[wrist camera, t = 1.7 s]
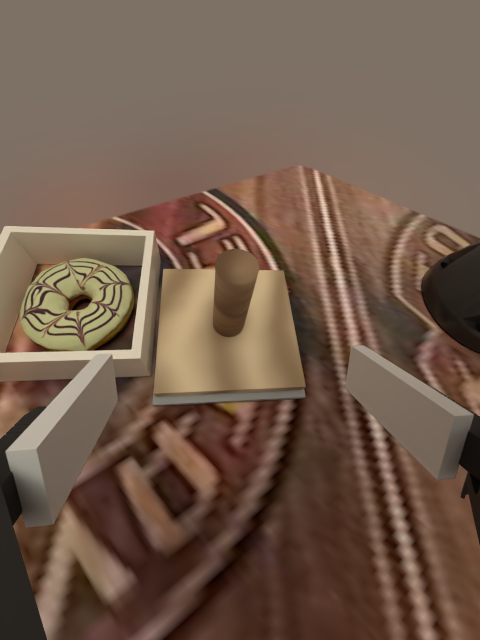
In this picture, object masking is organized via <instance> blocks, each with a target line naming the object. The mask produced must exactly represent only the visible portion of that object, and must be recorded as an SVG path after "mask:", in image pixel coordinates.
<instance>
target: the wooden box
mask: <svg viewBox="0 0 480 640" xmlns="http://www.w3.org/2000/svg"><path fill="white" fill-rule="evenodd" d="M79 258H88V259H94V260H98V261H101V262H104V263H107V264H110V265H130V266H142V272H141V280H140V287H139V295H138V303H137V311H136V319H135V327H134V335H133V342H132V350H103V351H63V352H23V353H5V351H6V348H7V346H8V343H9V340H10V338H11V335H12V332H13V329H14V327H15V324H16V321H17V318H18V316H19V313H20V309H21V305H22V302H23V299H24V298H25V294H26V291H27V288H28V286H29V285H30V283H31V280H32V278H33V275H34V272H35V269H36V267H37V264H60V263H63V262H65V261H68V260H74V259H79ZM160 264H161V260H160V255H159V251H158V246H157V241H156V237H155V232H154V231H143V230H111V229H80V228H46V227H17V226H16V227H15V226H5V227H4V229H3V231H2V233H1V235H0V382H3V381H29V380H56V379H74V378H75V377H76V375H77V374H78V373H79V372H80V371H81V370H82V369H83V368H84V367H85V366H86V365H87V364H88V363H89V362H90V361H91V359H92V358H93V357H94V356H95V355H96V354H112V356H113V364H114V373H115V377H135V376H151V369H152V357H153V346H154V334H155V322H156V311H157V299H158V288H159V276H160Z"/></svg>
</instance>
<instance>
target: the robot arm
mask: <svg viewBox="0 0 480 640" xmlns="http://www.w3.org/2000/svg"><path fill="white" fill-rule="evenodd" d="M422 293H423V297H424V300H425V303H426V305H427V307H428V309H429V311H430V313H431V314H432V316H433V317H434V318H435V320H436V321H437V322H438V323H439V325H440V326H441V327H442V328H443V329H444V330H445V331H446V332H447V333H448V334H450V335H451V336H452V337H453V338H455V339H456V340H457V341H459V342H460V343H462V344H463V345H465V346H467V347H468V348H470V349H472V350H474V351H476V352H479V353H480V241H478V242H476V243H474V244H471V245H469V246H467V247H465V248H463V249H460V250H458V251H456V252H454V253H452V254H449V255H447V256H445V257H444V258H442V259H441V260H439V261H438V262H437V263H436V264H435V265H434V266H432V267H431V268H430V269H429V270H428V271H427V272H426V274H425V276H424V278H423V281H422ZM345 388H346V389H347V390H348V391H349V392H350V393H351V394H352V395H353V396H354V397H355V398H356V399H357V400H358V401H359V402H360V403H361V404H362V405H363V406H364V407H365V408H366V409H367V410H368V411H369V412H370V413H371V414H372V415H373V416H374V417H375V418H376V419H377V420H378V421H379V422H380V423H381V424H382V425H383V426H384V427H385V428H386V429H387V431H388V432H389V433H390V434H391V435H392V436H393V437H394V438H395V439H396V440H397V441H398V442H399V443H400V444H401V445H402V446H403V447H404V448H405V449H406V450H407V451H408V452H409V453H410V454H411V455H412V456H413V457H414V458H415V459H416V460H417V461H418V462H419V463H420V464H421V465H422V466H423V467H424V468H425V469H426V470H427V471H428V472H429V473H430V474H431V475H432V476H433V477H434V478H435V479H436V480H443V479H451V478H455V476H456V473H457V470H458V467H459V464H460V465H461V466H462V467H463V468H464V469H466V470H467V471H468V473H467V477H466V480H465V483H464V486H463V489H462V492H461V498H463V499H465V495H467V494H469V498H470V503H471V507H472V512H473V516H474V521H475V526H476V530H477V535H478V539H479V544H480V416H478V415H476V414H475V413H473V412H471V411H470V410H468V409H467V408H465V407H463V406H462V405H460V404H459V403H457V402H456V403H455V401H454V400H452V399H451V398H449V397H446V395H444V394H443V393H441V392H439V391H438V390H436V389H434V388H432V387H429V386H428V385H426V384H424V383H423V382H421V381H420V380H418V379H416V378H415V377H413V376H412V375H410V374H409V373H407V372H405V371H404V370H402V369H401V368H399V367H397V366H396V365H394V364H393V363H391V362H389V361H388V360H386V359H385V358H383V357H381V356H380V355H378V354H377V353H375V352H373V351H372V350H370V349H369V348H367V347H366V346H364V345H357V346H351V352H350V359H349V365H348V372H347V379H346V386H345ZM117 402H118V398H117V390H116V381H115V373H114V364H113V356H112V354H96V355H95V356H94V357H93V358H92V359H91V361H90V362H89V363H88V364H87V365H86V366H85V367H84V368H83V369H82V370H81V371H80V372H79V373H78V374H77V375H76V377H75V378H74V379H73V380H72V381H71V382H70V383H69V384H68V385H67V386H66V387H65V388H64V389H63V390H62V391H61V393H60V394H59V395H58V396H57V397H56V398H55V399H54V400H53V401H52V402H51V403H50V404H49V405H48V406H47V407H38V408H36V409H34V410H33V411H31V412H29V413H28V414H26V415H24V416H23V417H22V418H21V419H20V420H19V421H18V422H17V423H16V424H15V426H14V427H12V428H11V429H10V430H9V431H8V432H7V433H6V435H4V436H3V437H2V438H1V439H0V640H47V638H46V634H45V631H44V628H43V624H42V621H41V618H40V614H39V611H38V608H37V604H36V601H35V598H34V595H33V591H32V588H31V585H30V581H29V578H28V575H27V571H26V568H25V565H24V561H23V558H22V555H21V551H20V548H19V545H18V541H17V538H16V535H15V531H14V528H13V525H14V523H15V522H16V520H17V519H18V517H19V516H20V514H21V513H22V516H23V520H24V524H25V528H26V527H35V526H43V525H52V524H54V522H55V520H56V518H57V516H58V515H59V513H60V511H61V509H62V507H63V505H64V503H65V501H66V499H67V497H68V495H69V494H70V492H71V490H72V488H73V486H74V484H75V482H76V480H77V478H78V476H79V474H80V473H81V471H82V469H83V467H84V465H85V463H86V461H87V459H88V457H89V455H90V453H91V452H92V450H93V448H94V446H95V444H96V442H97V440H98V438H99V436H100V434H101V432H102V431H103V429H104V427H105V425H106V423H107V421H108V419H109V417H110V415H111V413H112V411H113V410H114V408H115V406H116V404H117Z"/></svg>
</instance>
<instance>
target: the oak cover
mask: <svg viewBox="0 0 480 640" xmlns="http://www.w3.org/2000/svg"><path fill="white" fill-rule="evenodd" d="M305 387H306V386H305V380H304V375H303V370H302V365H301V359H300V354H299V349H298V344H297V339H296V333H295V328H294V323H293V318H292V312H291V307H290V302H289V297H288V291H287V286H286V281H285V276H284V271H275V270H259V263H258V261H257V259H256V258H255V257H254V256H253V255H252V254H250V253H249V252H247V251H244V250H240V249H231V250H227V251H225V252H223V253H221V254H220V255H219V256H218V258H217V260H216V265H215V270H201V269H164V270H163V283H162V295H161V308H160V321H159V334H158V346H157V359H156V372H155V385H154V395H155V396H156V397H161V396H182V395H203V394H224V393H244V392H265V391H286V390H302V389H303V388H305Z"/></svg>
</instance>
